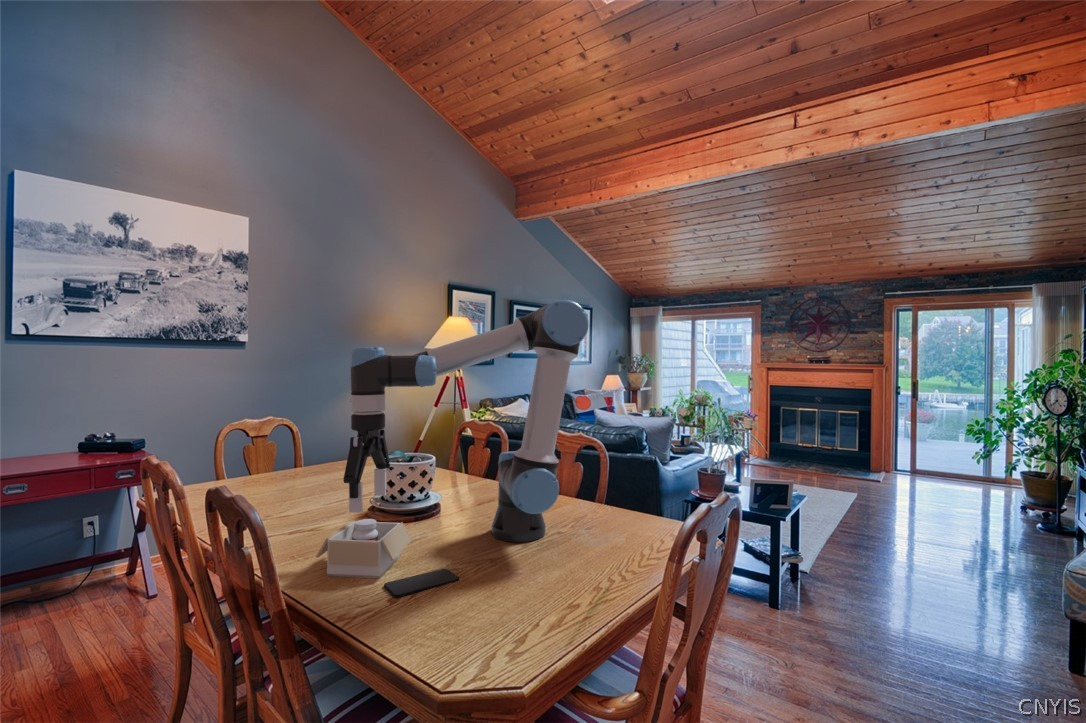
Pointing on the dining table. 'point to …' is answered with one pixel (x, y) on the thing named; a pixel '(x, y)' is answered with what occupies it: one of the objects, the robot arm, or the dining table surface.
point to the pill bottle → (365, 530)
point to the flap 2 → (396, 541)
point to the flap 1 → (325, 544)
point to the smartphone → (420, 583)
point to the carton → (359, 553)
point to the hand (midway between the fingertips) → (368, 503)
